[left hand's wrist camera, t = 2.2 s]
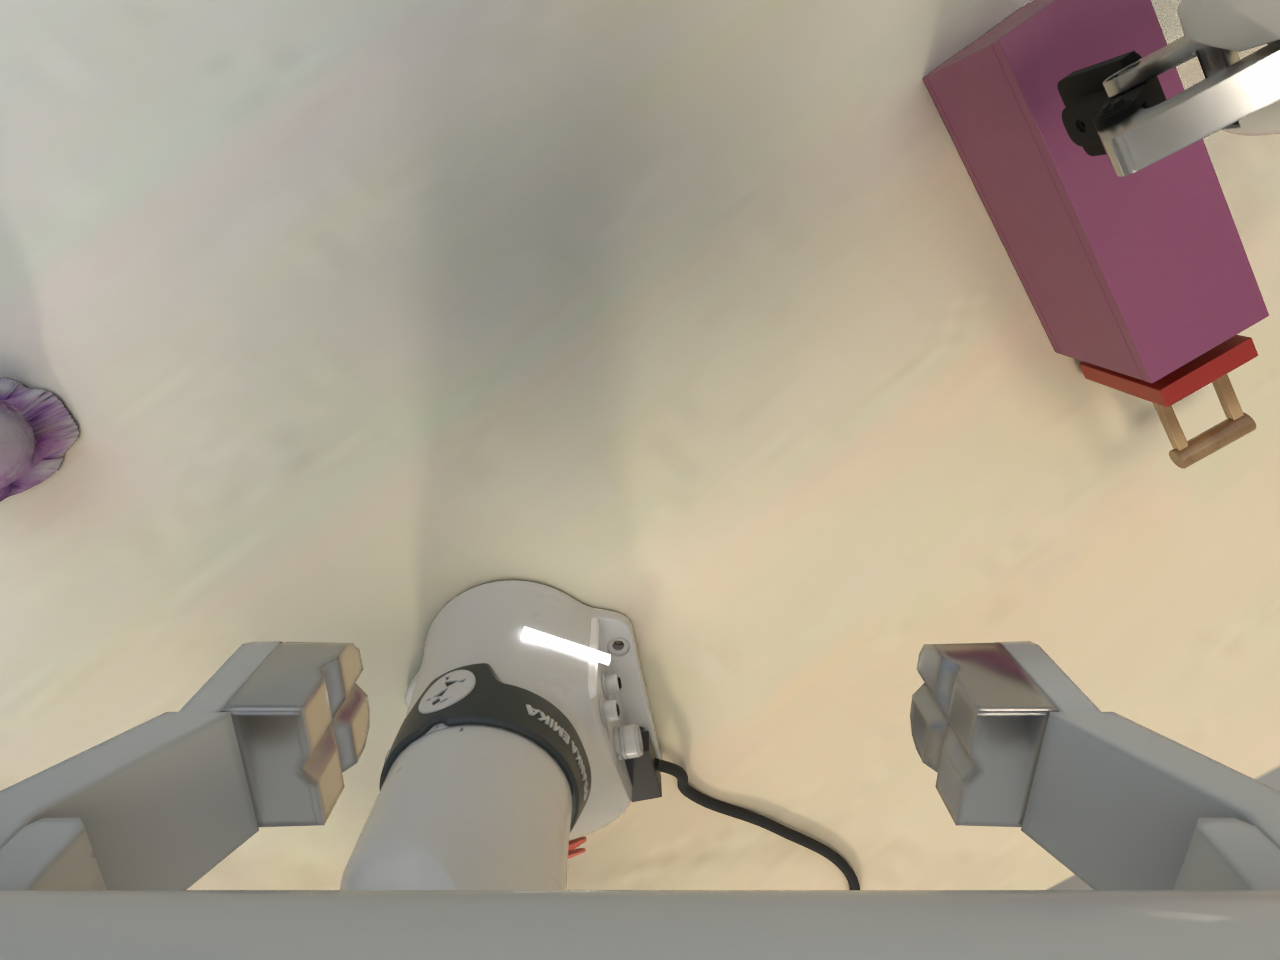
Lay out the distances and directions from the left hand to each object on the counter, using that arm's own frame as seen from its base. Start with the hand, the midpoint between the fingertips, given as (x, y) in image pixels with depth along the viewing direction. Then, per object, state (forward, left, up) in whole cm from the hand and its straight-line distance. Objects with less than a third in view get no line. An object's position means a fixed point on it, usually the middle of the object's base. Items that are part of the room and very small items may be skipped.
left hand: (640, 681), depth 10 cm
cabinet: (-2, -26, -38) cm, 46 cm away
